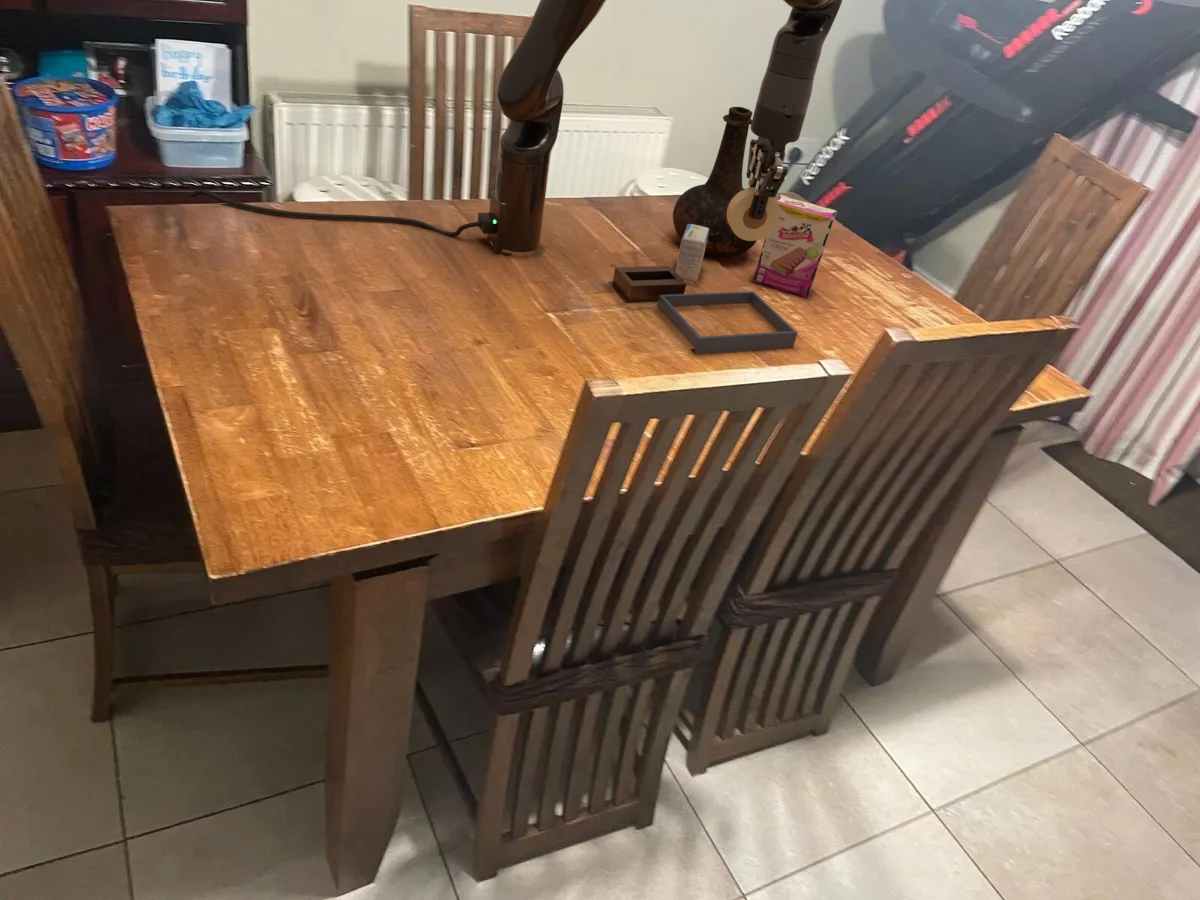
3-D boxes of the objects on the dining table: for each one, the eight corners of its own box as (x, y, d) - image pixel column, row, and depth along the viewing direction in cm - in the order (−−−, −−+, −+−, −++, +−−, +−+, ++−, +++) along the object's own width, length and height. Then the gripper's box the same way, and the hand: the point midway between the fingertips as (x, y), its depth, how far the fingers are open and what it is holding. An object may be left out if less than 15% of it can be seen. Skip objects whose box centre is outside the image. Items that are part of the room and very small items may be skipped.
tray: (695, 354, 150) (699, 338, 148) (656, 310, 161) (659, 294, 159) (793, 347, 157) (797, 332, 156) (749, 305, 168) (753, 291, 167)
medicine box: (695, 286, 172) (706, 242, 167) (672, 280, 172) (682, 237, 167) (700, 269, 178) (710, 227, 173) (678, 264, 178) (687, 222, 173)
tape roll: (772, 243, 149) (785, 195, 144) (725, 238, 147) (737, 190, 143) (768, 237, 151) (781, 190, 146) (721, 232, 149) (733, 184, 145)
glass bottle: (771, 262, 186) (810, 123, 170) (704, 273, 177) (740, 127, 161) (715, 227, 198) (747, 93, 181) (650, 236, 188) (677, 95, 172)
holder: (687, 305, 164) (691, 285, 162) (624, 308, 159) (628, 287, 157) (667, 284, 170) (671, 264, 168) (606, 286, 166) (609, 265, 163)
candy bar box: (751, 283, 177) (774, 201, 167) (756, 273, 181) (779, 193, 171) (808, 299, 175) (834, 217, 165) (812, 289, 179) (837, 209, 169)
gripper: (746, 87, 142) (720, 195, 152) (770, 114, 131) (741, 229, 140) (792, 93, 143) (763, 200, 153) (820, 121, 132) (787, 234, 142)
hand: (753, 213), depth 147 cm, fingers closed on tape roll, 2 cm apart
